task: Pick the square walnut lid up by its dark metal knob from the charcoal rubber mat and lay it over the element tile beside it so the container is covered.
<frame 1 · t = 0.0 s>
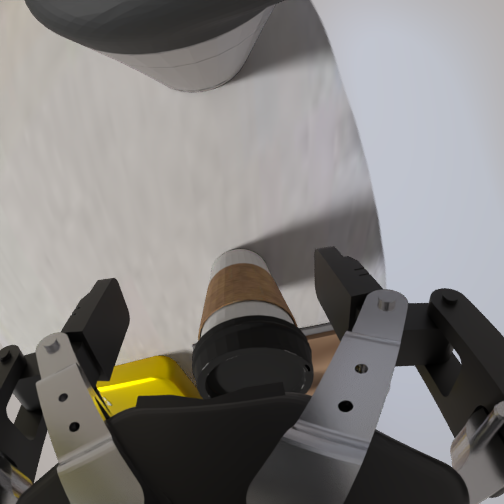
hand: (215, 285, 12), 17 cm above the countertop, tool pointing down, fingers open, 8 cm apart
coffee cup: (239, 273, 31), on the countertop
element tile: (151, 392, 40), on the countertop
walnut lid: (281, 400, 37), on the rubber mat
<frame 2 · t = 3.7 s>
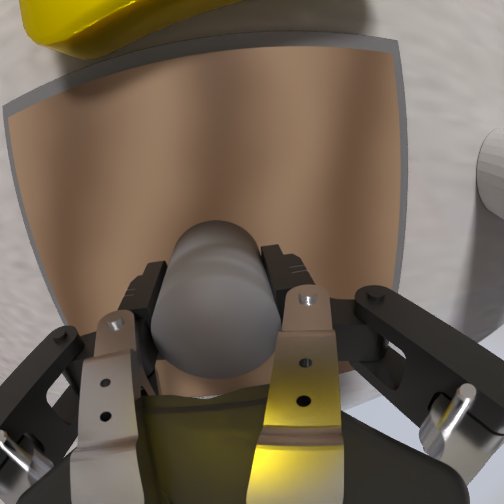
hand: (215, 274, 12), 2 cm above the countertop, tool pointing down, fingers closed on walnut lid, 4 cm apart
coffee cup: (498, 170, 14), on the countertop
walnut lid: (216, 287, 11), on the rubber mat, touching gripper
rubber mat: (216, 252, 14), on the countertop
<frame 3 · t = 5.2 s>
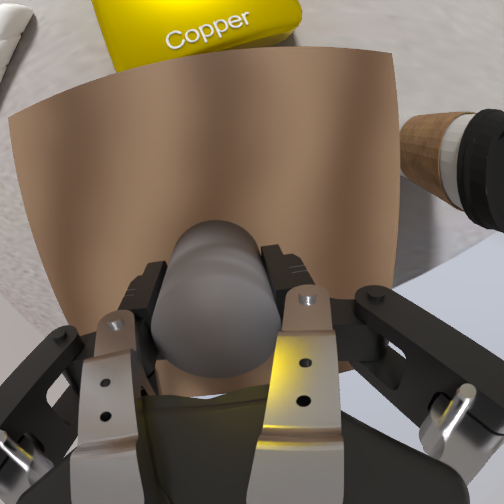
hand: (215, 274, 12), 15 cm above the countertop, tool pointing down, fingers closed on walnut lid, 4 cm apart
coffee cup: (401, 145, 26), on the countertop
walnut lid: (216, 286, 11), point 16 cm above the countertop, touching gripper
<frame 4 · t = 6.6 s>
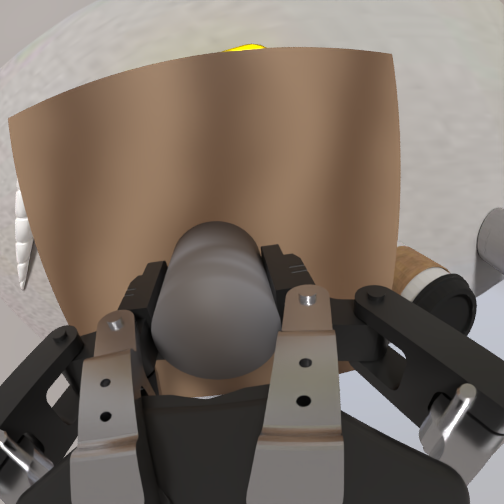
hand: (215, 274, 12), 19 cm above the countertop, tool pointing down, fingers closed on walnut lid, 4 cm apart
coffee cup: (382, 257, 36), on the countertop
unicorn horn: (36, 207, 29), on the countertop
walnut lid: (216, 288, 11), point 20 cm above the countertop, touching gripper
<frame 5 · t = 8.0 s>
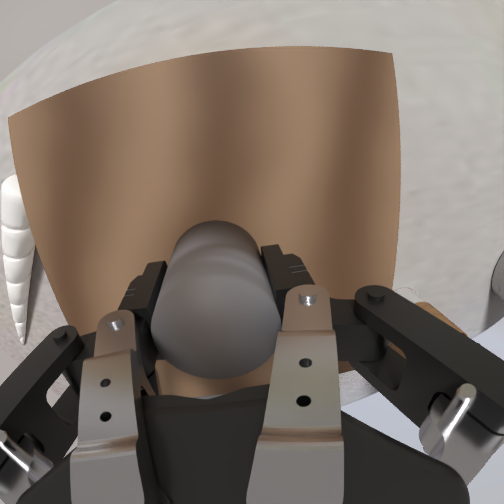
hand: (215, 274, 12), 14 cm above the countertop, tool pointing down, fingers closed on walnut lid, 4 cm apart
coffee cup: (396, 307, 33), on the countertop
unicorn horn: (27, 267, 26), on the countertop
walnut lid: (216, 287, 11), point 15 cm above the countertop, touching gripper
when the fingers open (9 cm above the countertop, at t = 9.7 s): walnut lid drops 2 cm, resting on element tile.
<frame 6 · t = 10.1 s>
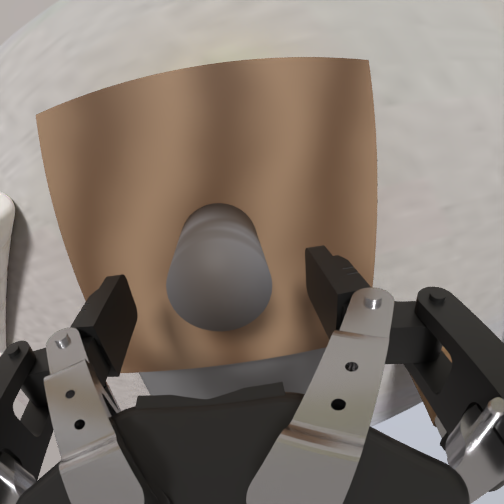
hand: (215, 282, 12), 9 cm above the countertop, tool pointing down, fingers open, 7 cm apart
coffee cup: (418, 334, 28), on the countertop
unicorn horn: (2, 294, 21), on the countertop
walnut lid: (218, 257, 14), point 7 cm above the countertop, touching element tile
rubber mat: (249, 394, 28), on the countertop
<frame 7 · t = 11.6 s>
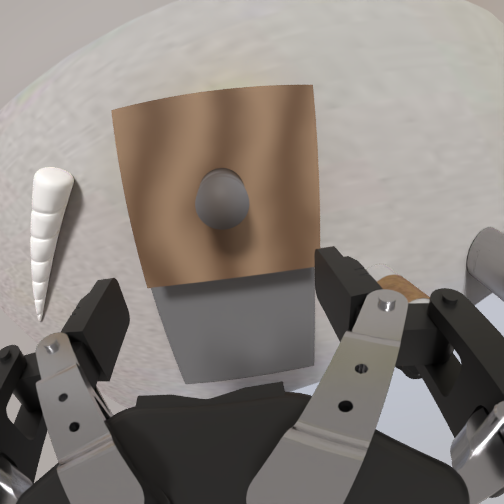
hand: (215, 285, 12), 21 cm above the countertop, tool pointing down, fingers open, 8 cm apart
coffee cup: (374, 282, 39), on the countertop
unicorn horn: (50, 249, 32), on the countertop
walnut lid: (221, 195, 24), point 7 cm above the countertop, touching element tile
rubber mat: (240, 325, 39), on the countertop
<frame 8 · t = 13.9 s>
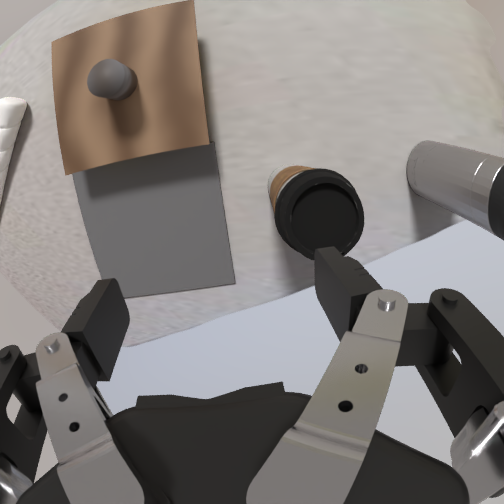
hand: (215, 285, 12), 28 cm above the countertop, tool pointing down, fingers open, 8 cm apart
coffee cup: (289, 185, 39), on the countertop
unicorn horn: (6, 166, 33), on the countertop
walnut lid: (114, 81, 25), point 7 cm above the countertop, touching element tile
rubber mat: (152, 228, 39), on the countertop
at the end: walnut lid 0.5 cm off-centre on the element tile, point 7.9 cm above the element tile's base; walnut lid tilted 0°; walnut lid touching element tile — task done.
